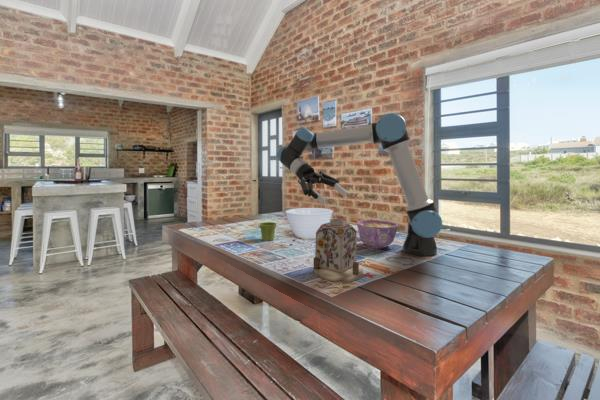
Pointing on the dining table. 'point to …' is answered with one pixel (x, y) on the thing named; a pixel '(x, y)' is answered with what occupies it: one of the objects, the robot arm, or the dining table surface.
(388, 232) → the bowl of food
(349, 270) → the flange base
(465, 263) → the dining table surface
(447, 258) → the dining table surface
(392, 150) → the robot arm
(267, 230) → the plant pot
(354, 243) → the decorative jar
